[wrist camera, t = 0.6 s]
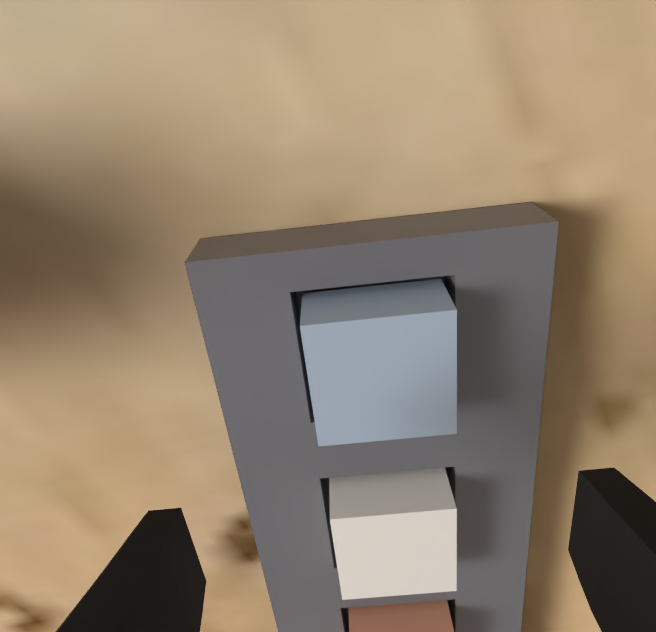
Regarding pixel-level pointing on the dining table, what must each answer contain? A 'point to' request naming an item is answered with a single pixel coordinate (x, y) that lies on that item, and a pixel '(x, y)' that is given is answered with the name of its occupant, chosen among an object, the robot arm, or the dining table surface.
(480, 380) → the keypad
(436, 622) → the terracotta key
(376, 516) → the cream key
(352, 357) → the slate key
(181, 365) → the dining table surface
